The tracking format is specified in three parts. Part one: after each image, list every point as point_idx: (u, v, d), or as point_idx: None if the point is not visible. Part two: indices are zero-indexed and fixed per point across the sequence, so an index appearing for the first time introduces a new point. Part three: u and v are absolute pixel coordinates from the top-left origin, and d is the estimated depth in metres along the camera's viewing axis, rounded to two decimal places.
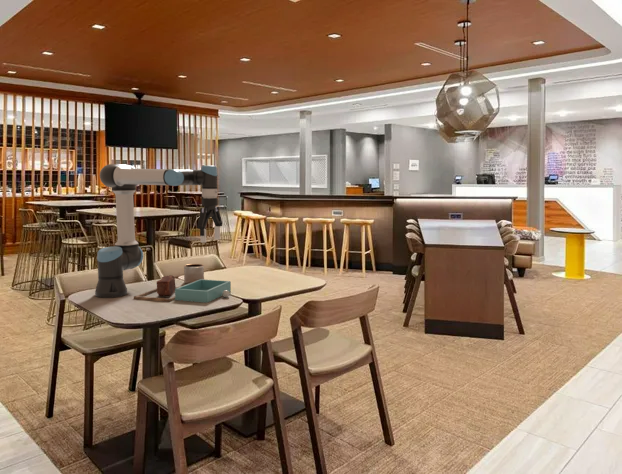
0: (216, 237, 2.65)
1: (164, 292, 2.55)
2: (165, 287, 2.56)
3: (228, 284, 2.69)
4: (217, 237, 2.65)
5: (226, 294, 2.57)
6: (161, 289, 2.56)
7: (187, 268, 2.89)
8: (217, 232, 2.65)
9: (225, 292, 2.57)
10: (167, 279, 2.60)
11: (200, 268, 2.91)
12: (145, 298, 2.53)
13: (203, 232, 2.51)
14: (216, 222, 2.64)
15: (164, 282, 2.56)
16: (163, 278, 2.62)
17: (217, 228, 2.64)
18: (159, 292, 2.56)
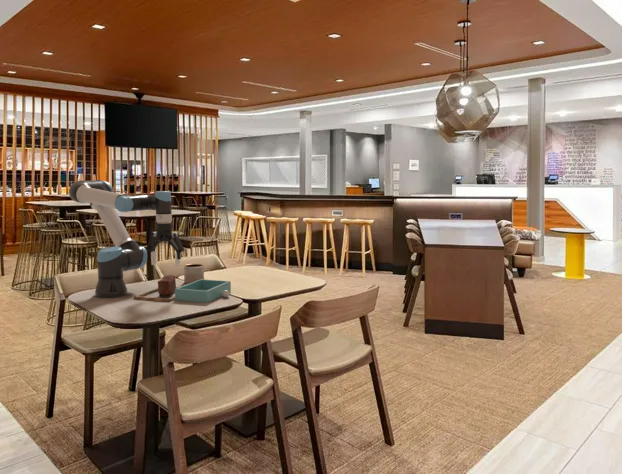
0: None
1: (165, 292, 2.56)
2: (166, 287, 2.56)
3: (228, 284, 2.69)
4: None
5: (226, 294, 2.57)
6: (162, 289, 2.56)
7: (187, 268, 2.89)
8: None
9: (225, 292, 2.57)
10: (168, 279, 2.61)
11: (200, 268, 2.91)
12: (145, 298, 2.53)
13: (150, 254, 2.63)
14: None
15: (165, 282, 2.57)
16: (164, 278, 2.62)
17: None
18: (160, 292, 2.56)
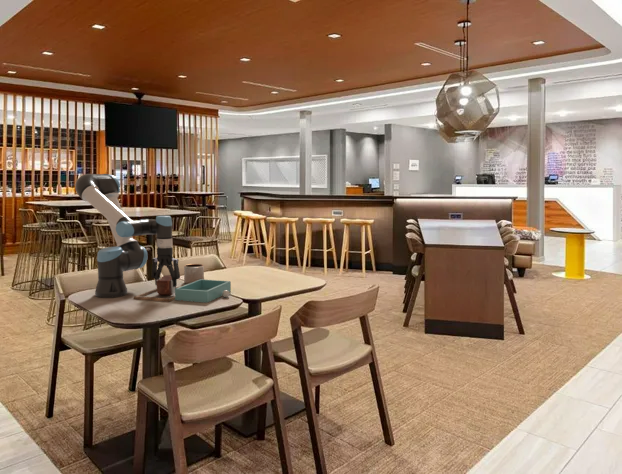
0: None
1: (164, 291, 2.56)
2: (165, 286, 2.57)
3: (228, 284, 2.69)
4: None
5: (226, 294, 2.57)
6: (161, 288, 2.57)
7: (187, 268, 2.89)
8: None
9: (225, 292, 2.57)
10: (167, 278, 2.61)
11: (200, 268, 2.91)
12: (145, 298, 2.53)
13: (156, 282, 2.64)
14: None
15: (164, 281, 2.57)
16: (163, 277, 2.63)
17: None
18: (159, 291, 2.57)
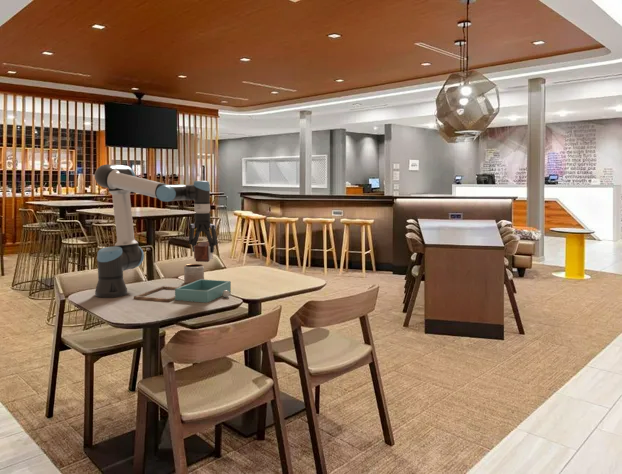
0: None
1: (201, 257, 2.52)
2: (202, 252, 2.53)
3: (228, 284, 2.69)
4: None
5: (226, 294, 2.57)
6: (198, 254, 2.53)
7: (187, 268, 2.89)
8: None
9: (225, 292, 2.57)
10: (204, 244, 2.57)
11: (200, 268, 2.91)
12: (145, 298, 2.53)
13: (193, 248, 2.60)
14: None
15: (201, 247, 2.54)
16: (200, 243, 2.59)
17: None
18: (196, 257, 2.53)
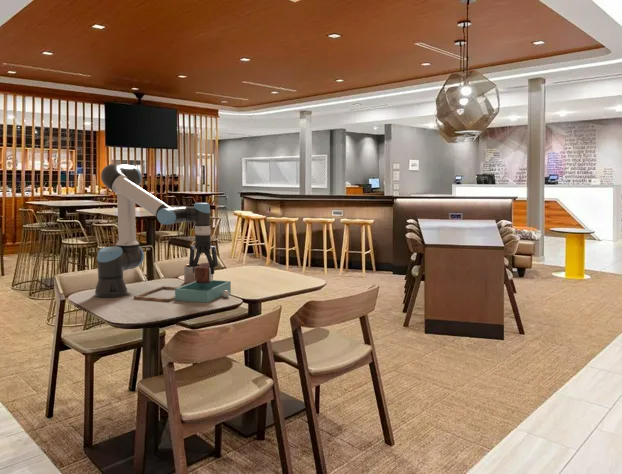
0: None
1: (202, 279, 2.54)
2: (203, 274, 2.54)
3: (228, 284, 2.69)
4: None
5: (226, 294, 2.57)
6: (199, 276, 2.54)
7: (187, 268, 2.89)
8: None
9: (225, 292, 2.57)
10: (205, 266, 2.59)
11: None
12: (145, 298, 2.53)
13: (194, 270, 2.61)
14: None
15: (202, 269, 2.55)
16: (201, 265, 2.60)
17: None
18: (197, 279, 2.54)
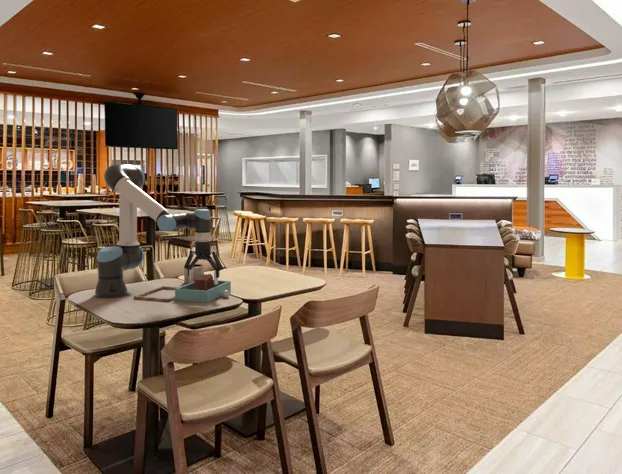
0: None
1: None
2: (202, 286, 2.55)
3: (228, 284, 2.69)
4: None
5: (226, 294, 2.57)
6: (198, 288, 2.55)
7: None
8: None
9: (225, 292, 2.57)
10: (205, 278, 2.59)
11: (200, 268, 2.91)
12: (145, 298, 2.53)
13: (188, 272, 2.62)
14: None
15: (201, 281, 2.56)
16: (201, 277, 2.61)
17: None
18: None
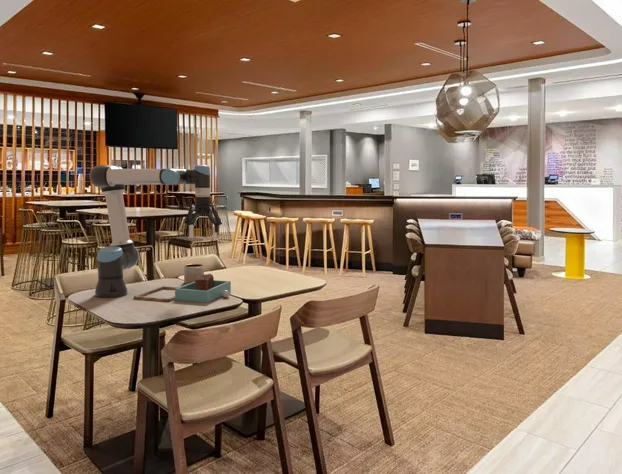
0: None
1: None
2: (203, 285, 2.55)
3: (228, 284, 2.69)
4: None
5: (226, 294, 2.57)
6: (200, 287, 2.56)
7: (187, 268, 2.89)
8: None
9: (225, 292, 2.57)
10: (206, 278, 2.60)
11: (200, 268, 2.91)
12: (145, 298, 2.53)
13: (188, 228, 2.68)
14: None
15: (203, 280, 2.56)
16: (202, 276, 2.61)
17: None
18: None
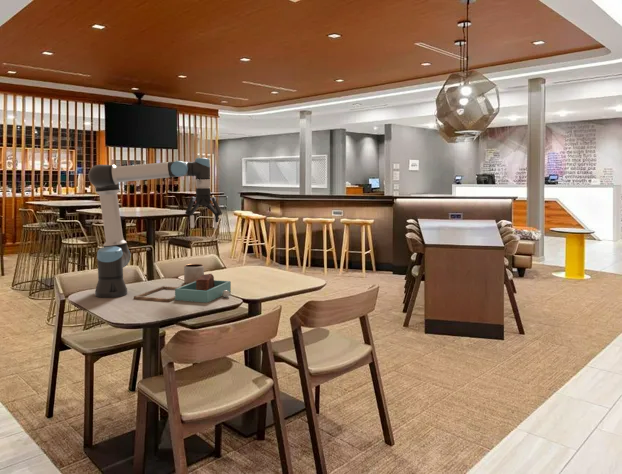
0: None
1: (203, 290, 2.55)
2: (204, 285, 2.55)
3: (228, 284, 2.69)
4: None
5: (226, 294, 2.57)
6: (200, 287, 2.56)
7: (187, 268, 2.89)
8: None
9: (225, 292, 2.57)
10: (206, 277, 2.60)
11: (200, 268, 2.91)
12: (145, 298, 2.53)
13: (189, 218, 2.79)
14: None
15: (203, 280, 2.56)
16: (202, 276, 2.62)
17: None
18: None
